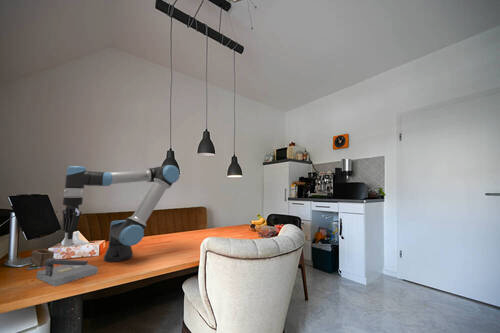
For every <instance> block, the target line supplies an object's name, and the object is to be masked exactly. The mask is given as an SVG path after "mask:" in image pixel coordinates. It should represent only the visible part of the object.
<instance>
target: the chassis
mask: <svg viewBox="0 0 500 333" xmlns="http://www.w3.org/2000/svg"><path fill="white" fill-rule="evenodd" d="M54 265H55V264H52V265H47V266H46V268H44V269H42V270H41V269H40V270H37V272H36V277H35V278H36V279H38V280H40V281H43V282H44V283H47V284H49V285H51V286H53V287H58V286H61V285H64V284H65V285H66V284H68V283H71V282H74V280H75V281H77V280H76V279H78V280H80V279H79V278H81V279H83V278H82V277H85V278H87V277H86V276H88V277H90V275H91V276H94V275H97V274H98V272H99V267H97V266H95V265H91V264H89V263H87V265H85V266H81V265H58V266H57V265H56V266H54ZM96 273H97V274H96ZM93 274H94V275H93Z"/></svg>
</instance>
